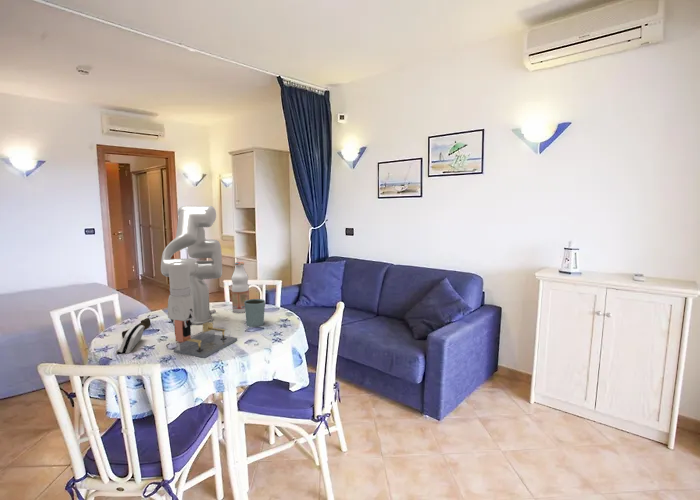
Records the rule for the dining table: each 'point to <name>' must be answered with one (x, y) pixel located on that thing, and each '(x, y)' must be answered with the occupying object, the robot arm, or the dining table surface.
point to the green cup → (254, 312)
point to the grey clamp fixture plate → (205, 342)
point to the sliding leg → (180, 333)
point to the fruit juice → (239, 288)
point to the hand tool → (144, 322)
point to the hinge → (131, 338)
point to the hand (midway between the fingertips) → (182, 334)
